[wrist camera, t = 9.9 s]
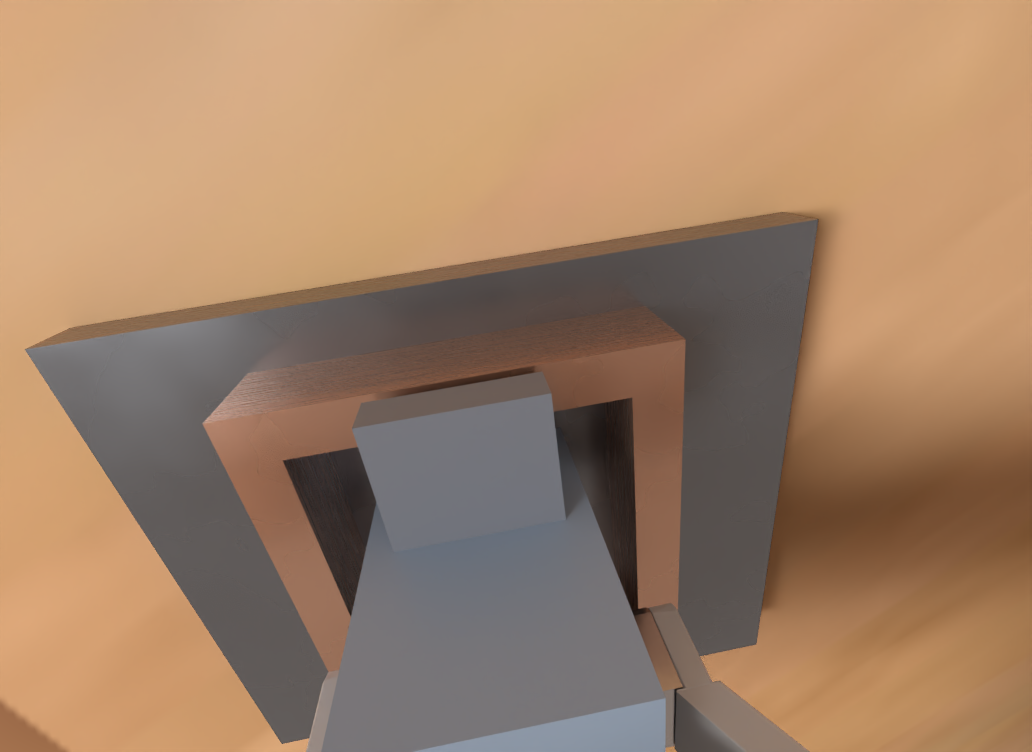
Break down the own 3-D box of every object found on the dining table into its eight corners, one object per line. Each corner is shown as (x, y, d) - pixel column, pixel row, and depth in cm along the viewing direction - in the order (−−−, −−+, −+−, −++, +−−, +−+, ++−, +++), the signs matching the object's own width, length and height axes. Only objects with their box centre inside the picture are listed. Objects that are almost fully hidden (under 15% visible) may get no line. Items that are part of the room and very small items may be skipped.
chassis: (782, 212, 11) (899, 235, 8) (737, 613, 17) (794, 706, 14) (70, 328, 10) (-79, 398, 7) (293, 705, 16) (259, 822, 14)
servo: (549, 325, 10) (666, 537, 4) (588, 681, 15) (663, 976, 10) (354, 358, 10) (226, 622, 4) (463, 706, 15) (468, 1024, 9)
